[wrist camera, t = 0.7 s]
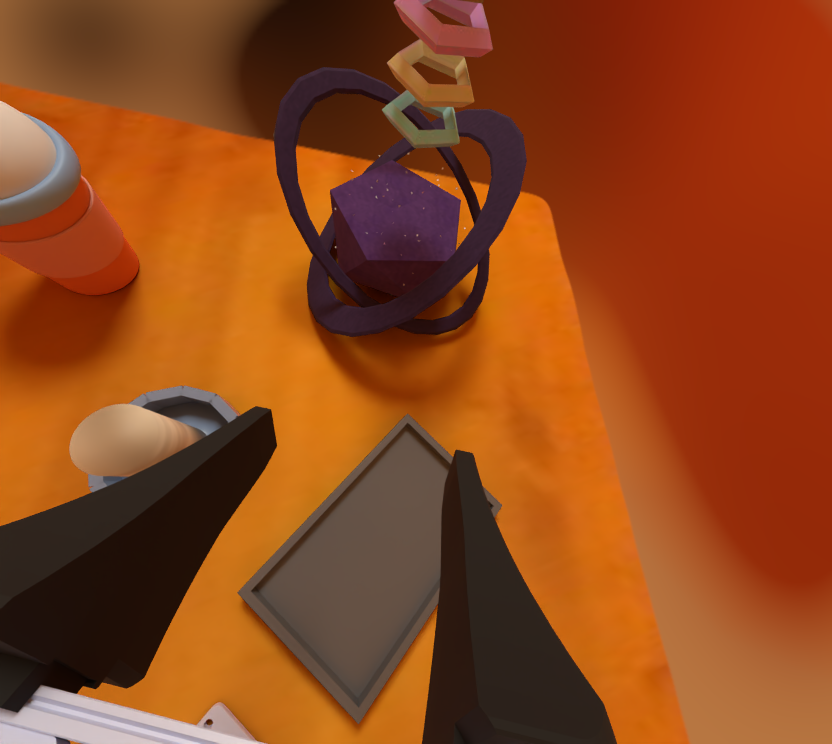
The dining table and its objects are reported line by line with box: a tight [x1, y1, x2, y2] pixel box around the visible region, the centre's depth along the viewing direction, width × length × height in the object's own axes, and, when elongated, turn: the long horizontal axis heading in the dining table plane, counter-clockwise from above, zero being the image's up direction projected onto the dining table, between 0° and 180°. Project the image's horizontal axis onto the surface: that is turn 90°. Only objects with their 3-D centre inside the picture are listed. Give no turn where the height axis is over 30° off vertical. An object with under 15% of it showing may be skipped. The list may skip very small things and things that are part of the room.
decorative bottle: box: [274, 0, 526, 337], centre depth 24 cm, size 22×21×25 cm
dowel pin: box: [69, 404, 207, 477], centre depth 21 cm, size 4×4×8 cm
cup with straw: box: [0, 101, 139, 295], centre depth 20 cm, size 9×9×18 cm
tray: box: [238, 414, 502, 724], centre depth 25 cm, size 18×12×2 cm, turn 138°
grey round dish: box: [88, 386, 240, 492], centre depth 24 cm, size 10×10×2 cm
